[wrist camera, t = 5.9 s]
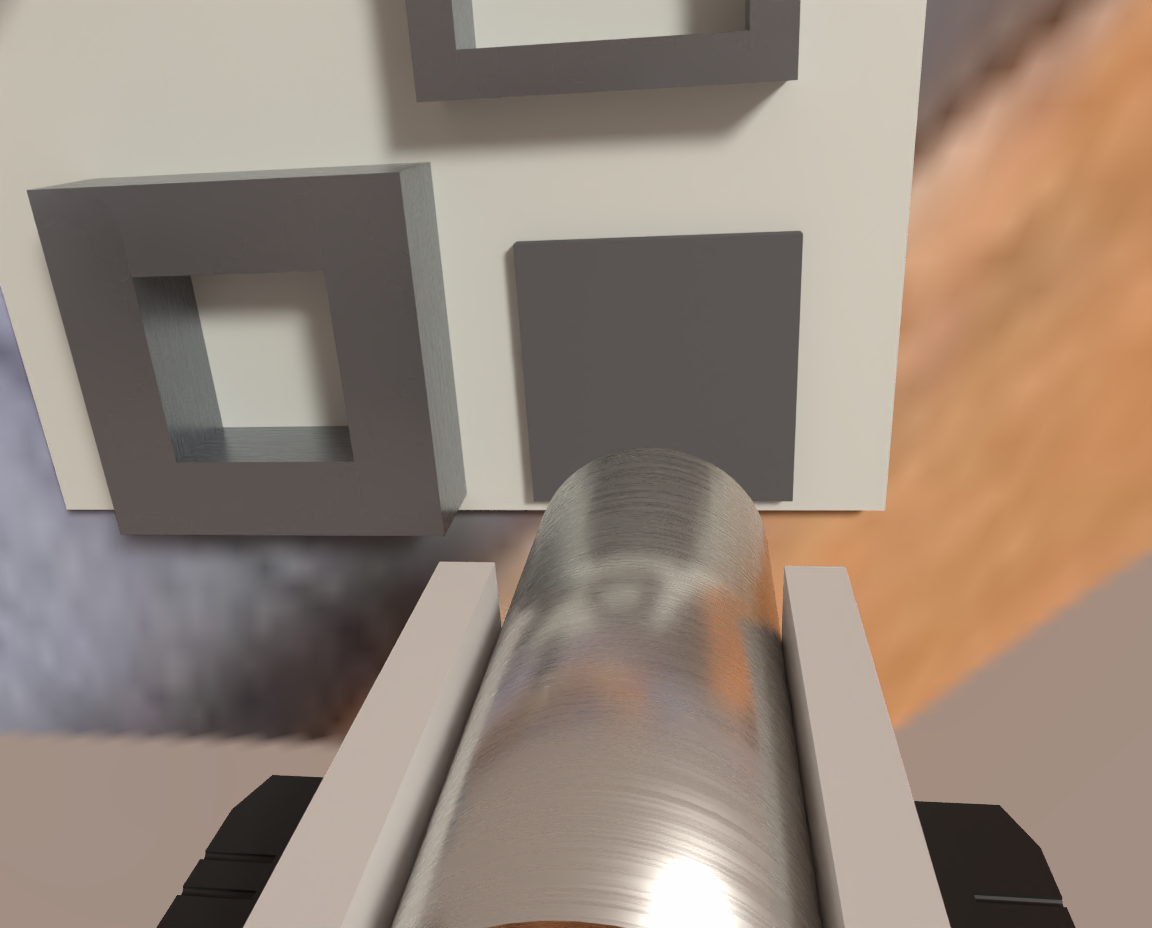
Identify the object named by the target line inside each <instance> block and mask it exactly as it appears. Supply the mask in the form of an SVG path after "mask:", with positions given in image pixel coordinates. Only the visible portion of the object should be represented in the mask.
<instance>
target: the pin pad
mask: <svg viewBox="0 0 1152 928" xmlns="http://www.w3.org/2000/svg"><path fill="white" fill-rule="evenodd" d="M513 251H514V263H515V275H516V288H517V300H518V313H519V325H520V338H521V350H522V363H523V375H524V387H525V400H526V412H527V425H528V437H529V450H530V462H531V475H532V487H533V499H534V502H550V501H551V499H552V498H553V496H554V494H555V493H556V491H557V490H558V489H559V488H560V487H561V485H562V484H563V483H564V482H565V481H566V480H567V479H568V478H569V477H570V476H571V475H573V474H574V473H575V472H576V471H577V470H579V469H580V468H582V467H583V466H585V465H586V464H588V463H590V462H592V461H594V460H596V459H598V458H600V457H602V456H605V455H608V454H611V453H614V452H617V451H622V450H627V449H632V448H646V447H652V448H666V449H671V450H677V451H681V452H685V453H688V454H691V455H694V456H697V457H699V458H701V459H703V460H706V461H708V462H710V463H712V464H713V465H715V466H716V467H718V468H720V469H721V470H723V471H724V472H725V473H727V474H728V475H729V476H730V477H732V478H733V479H734V480H735V481H736V482H737V483H738V484H739V485H740V486H741V487H742V488H743V489H744V490H745V492H746V493H747V494H748V496H749V497H750V499H751V500H752V501H793V481H794V456H795V430H796V404H797V379H798V353H799V327H800V302H801V276H802V251H803V233H802V232H801V231H778V232H752V233H725V234H698V235H672V236H645V237H618V238H591V239H565V240H538V241H516V242H515V243H514V244H513Z"/></svg>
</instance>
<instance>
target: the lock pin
mask: <svg viewBox="0 0 1152 928" xmlns="http://www.w3.org/2000/svg"><path fill="white" fill-rule="evenodd" d="M391 928H822V922H821V915H820V908H819V901H818V894H817V887H816V880H815V873H814V866H813V859H812V852H811V845H810V838H809V831H808V824H807V817H806V810H805V803H804V796H803V789H802V782H801V775H800V768H799V761H798V754H797V747H796V740H795V733H794V726H793V719H792V712H791V705H790V698H789V691H788V684H787V677H786V670H785V663H784V656H783V649H782V640H781V633H780V626H779V619H778V612H777V605H776V598H775V591H774V584H773V577H772V570H771V564H770V557H769V550H768V543H767V537H766V532H765V528H764V525H763V522H762V519H761V517H760V514H759V512H758V510H757V509H756V507H755V505H754V503H753V501H752V500H751V499H750V497H749V496H748V494H747V493H746V492H745V490H744V489H743V488H742V487H741V486H740V485H739V484H738V483H737V482H736V481H735V480H734V479H733V478H732V477H730V476H729V475H728V474H727V473H725V472H724V471H723V470H721V469H720V468H718V467H716V466H715V465H713V464H712V463H710V462H708V461H706V460H703V459H701V458H699V457H697V456H694V455H691V454H688V453H685V452H681V451H677V450H671V449H666V448H652V447H646V448H632V449H627V450H622V451H617V452H614V453H611V454H608V455H605V456H602V457H600V458H598V459H596V460H594V461H592V462H590V463H588V464H586V465H585V466H583V467H582V468H580V469H579V470H577V471H576V472H575V473H574V474H573V475H571V476H570V477H569V478H568V479H567V480H566V481H565V482H564V483H563V484H562V485H561V487H560V488H559V489H558V490H557V491H556V493H555V494H554V496H553V498H552V499H551V501H550V502H549V504H548V507H547V509H546V511H545V513H544V515H543V518H542V521H541V524H540V526H539V529H538V532H537V534H536V537H535V540H534V542H533V545H532V548H531V551H530V553H529V556H528V559H527V561H526V564H525V567H524V569H523V572H522V575H521V578H520V580H519V583H518V586H517V588H516V591H515V594H514V596H513V599H512V602H511V604H510V607H509V610H508V613H507V615H506V618H505V621H504V623H503V626H502V629H501V631H500V634H499V637H498V640H497V642H496V645H495V648H494V650H493V653H492V656H491V658H490V661H489V664H488V666H487V669H486V672H485V675H484V677H483V680H482V683H481V685H480V688H479V691H478V693H477V696H476V699H475V702H474V704H473V707H472V710H471V712H470V715H469V718H468V720H467V723H466V726H465V729H464V731H463V734H462V737H461V739H460V742H459V745H458V747H457V750H456V753H455V755H454V758H453V761H452V764H451V766H450V769H449V772H448V774H447V777H446V780H445V782H444V785H443V788H442V791H441V793H440V796H439V799H438V801H437V804H436V807H435V809H434V812H433V815H432V818H431V820H430V823H429V826H428V828H427V831H426V834H425V836H424V839H423V842H422V844H421V847H420V850H419V853H418V855H417V858H416V861H415V863H414V866H413V869H412V871H411V874H410V877H409V880H408V882H407V885H406V888H405V890H404V893H403V896H402V898H401V901H400V904H399V907H398V909H397V912H396V915H395V917H394V920H393V923H392V925H391Z"/></svg>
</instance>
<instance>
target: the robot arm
mask: <svg viewBox="0 0 1152 928" xmlns="http://www.w3.org/2000/svg"><path fill="white" fill-rule="evenodd" d="M500 631H501V619H500V609H499V599H498V589H497V580H496V570H495V562H439V564H438V566H437V567H436V569H435V571H434V573H433V575H432V577H431V579H430V580H429V582H428V584H427V586H426V588H425V590H424V592H423V594H422V595H421V597H420V599H419V601H418V603H417V605H416V607H415V608H414V610H413V612H412V614H411V616H410V618H409V620H408V621H407V623H406V625H405V627H404V629H403V631H402V633H401V634H400V636H399V638H398V640H397V642H396V644H395V646H394V648H393V649H392V651H391V653H390V655H389V657H388V659H387V661H386V662H385V664H384V666H383V668H382V670H381V672H380V674H379V675H378V677H377V679H376V681H375V683H374V685H373V687H372V688H371V690H370V692H369V694H368V696H367V698H366V700H365V702H364V703H363V705H362V707H361V709H360V711H359V713H358V715H357V716H356V718H355V720H354V722H353V724H352V726H351V728H350V729H349V731H348V733H347V735H346V737H345V739H344V741H343V742H342V744H341V746H340V748H339V750H338V752H337V754H336V756H335V757H334V759H333V761H332V763H331V765H330V767H329V769H328V770H327V772H326V774H325V776H324V778H323V777H322V778H321V777H301V776H279V775H272V776H271V777H270V778H269V779H267V780H266V781H265V782H264V783H263V784H262V785H260V786H259V787H258V788H257V789H256V790H254V791H253V792H252V793H251V794H250V795H249V796H247V797H246V798H245V799H244V800H243V801H241V802H240V803H239V804H238V805H237V806H236V807H234V808H233V809H232V810H231V812H230V813H229V815H228V816H227V818H226V820H225V821H224V823H223V824H222V826H221V827H220V829H219V831H218V832H217V834H216V835H215V837H214V838H213V840H212V842H211V843H210V845H209V846H208V848H207V849H206V854H205V858H204V860H203V859H200V860H199V862H198V864H197V865H196V867H195V868H194V870H193V871H192V873H191V874H190V876H189V878H188V879H187V881H186V882H185V884H184V885H183V892H182V895H177V896H176V898H175V899H174V901H173V903H172V904H171V906H170V908H169V909H168V911H167V912H166V914H165V915H164V917H163V918H162V920H161V921H160V923H159V925H158V926H157V928H391V925H392V923H393V920H394V917H395V915H396V912H397V909H398V907H399V904H400V901H401V898H402V896H403V893H404V890H405V888H406V885H407V882H408V880H409V877H410V874H411V871H412V869H413V866H414V863H415V861H416V858H417V855H418V853H419V850H420V847H421V844H422V842H423V839H424V836H425V834H426V831H427V828H428V826H429V823H430V820H431V818H432V815H433V812H434V809H435V807H436V804H437V801H438V799H439V796H440V793H441V791H442V788H443V785H444V782H445V780H446V777H447V774H448V772H449V769H450V766H451V764H452V761H453V758H454V755H455V753H456V750H457V747H458V745H459V742H460V739H461V737H462V734H463V731H464V729H465V726H466V723H467V720H468V718H469V715H470V712H471V710H472V707H473V704H474V702H475V699H476V696H477V693H478V691H479V688H480V685H481V683H482V680H483V677H484V675H485V672H486V669H487V666H488V664H489V661H490V658H491V656H492V653H493V650H494V648H495V645H496V642H497V640H498V637H499V634H500ZM782 649H783V656H784V663H785V670H786V677H787V684H788V691H789V698H790V705H791V712H792V719H793V726H794V733H795V740H796V747H797V754H798V761H799V768H800V775H801V782H802V789H803V796H804V803H805V810H806V817H807V824H808V831H809V838H810V845H811V852H812V859H813V866H814V873H815V880H816V887H817V894H818V901H819V908H820V915H821V922H822V928H1075V926H1074V923H1073V921H1072V919H1071V916H1070V914H1069V912H1068V910H1067V907H1063V904H1062V896H1061V894H1060V892H1059V889H1058V887H1057V885H1056V882H1055V880H1054V878H1053V875H1052V873H1051V871H1050V869H1049V866H1048V864H1047V862H1046V859H1045V857H1044V855H1043V852H1042V850H1041V848H1040V847H1039V846H1038V845H1037V844H1036V843H1035V842H1034V840H1033V839H1032V838H1031V837H1030V836H1029V835H1028V834H1027V833H1026V832H1025V831H1024V830H1023V829H1022V828H1021V827H1020V826H1019V825H1018V824H1017V823H1016V822H1015V821H1014V820H1013V819H1012V818H1011V817H1010V816H1009V815H1008V813H1006V811H1004V809H1003V808H1002V807H1001V806H1000V805H986V804H963V803H941V802H919V801H914V800H913V797H912V793H911V790H910V786H909V783H908V779H907V776H906V773H905V769H904V766H903V762H902V759H901V755H900V752H899V749H898V745H897V742H896V738H895V735H894V731H893V728H892V725H891V721H890V718H889V714H888V711H887V707H886V704H885V701H884V697H883V694H882V690H881V687H880V683H879V680H878V677H877V673H876V670H875V666H874V663H873V659H872V656H871V653H870V649H869V646H868V642H867V639H866V635H865V632H864V629H863V625H862V622H861V618H860V615H859V611H858V608H857V605H856V601H855V598H854V594H853V591H852V587H851V584H850V581H849V577H848V574H847V570H846V567H839V566H784V587H783V615H782Z"/></svg>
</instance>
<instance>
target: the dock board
mask: <svg viewBox="0 0 1152 928" xmlns="http://www.w3.org/2000/svg"><path fill="white" fill-rule="evenodd" d="M926 2H927V0H801V3H800V32H799V60H798V80H791V81H774V82H756V83H739V84H722V85H705V86H688V87H671V88H653V89H636V90H619V91H602V92H585V93H567V94H550V95H533V96H516V97H499V98H482V99H464V100H447V101H430V102H417V100H416V91H415V83H414V74H413V65H412V56H411V47H410V38H409V30H408V21H407V12H406V3H405V0H0V286H1V289H2V292H3V296H4V299H5V302H6V306H7V309H8V313H9V316H10V319H11V323H12V326H13V329H14V333H15V336H16V340H17V343H18V346H19V350H20V353H21V356H22V360H23V363H24V366H25V370H26V373H27V377H28V380H29V383H30V387H31V390H32V393H33V397H34V400H35V404H36V407H37V410H38V414H39V417H40V420H41V424H42V427H43V431H44V434H45V437H46V441H47V444H48V447H49V451H50V454H51V458H52V461H53V464H54V468H55V471H56V474H57V478H58V481H59V484H60V488H61V491H62V495H63V498H64V501H65V505H66V508H67V510H114V507H113V504H112V500H111V496H110V493H109V489H108V486H107V482H106V478H105V475H104V471H103V467H102V464H101V460H100V456H99V453H98V449H97V446H96V442H95V438H94V435H93V431H92V427H91V424H90V420H89V416H88V413H87V409H86V406H85V402H84V398H83V395H82V391H81V387H80V384H79V380H78V376H77V373H76V369H75V365H74V362H73V358H72V355H71V351H70V347H69V344H68V340H67V336H66V333H65V329H64V325H63V322H62V318H61V315H60V311H59V307H58V304H57V300H56V296H55V293H54V289H53V285H52V282H51V278H50V274H49V271H48V267H47V264H46V260H45V256H44V253H43V249H42V245H41V242H40V238H39V234H38V231H37V227H36V224H35V220H34V216H33V213H32V209H31V205H30V202H29V198H28V194H27V191H26V190H30V189H36V188H42V187H47V186H53V185H59V184H65V183H70V182H76V181H82V180H88V179H95V178H115V177H136V176H156V175H176V174H196V173H216V172H237V171H257V170H277V169H297V168H318V167H338V166H358V165H378V164H398V163H419V162H430V164H431V173H432V182H433V191H434V200H435V209H436V218H437V227H438V236H439V245H440V254H441V263H442V272H443V281H444V290H445V299H446V308H447V317H448V326H449V335H450V344H451V353H452V362H453V372H454V381H455V390H456V399H457V408H458V417H459V426H460V435H461V444H462V453H463V462H464V471H465V480H466V489H467V495H466V497H465V499H464V501H463V502H462V504H461V506H460V508H459V510H546V509H547V507H548V504H549V502H534V499H533V487H532V475H531V462H530V450H529V437H528V425H527V412H526V400H525V387H524V375H523V363H522V350H521V338H520V325H519V313H518V300H517V288H516V275H515V263H514V251H513V244H514V243H515V242H516V241H538V240H565V239H591V238H618V237H645V236H672V235H698V234H725V233H752V232H778V231H801V232H802V233H803V251H802V276H801V302H800V327H799V353H798V379H797V404H796V430H795V456H794V481H793V501H753V503H754V505H755V507H756V509H757V510H885V503H886V491H887V479H888V467H889V454H890V442H891V430H892V418H893V406H894V393H895V381H896V369H897V357H898V344H899V332H900V320H901V308H902V296H903V283H904V271H905V259H906V247H907V234H908V222H909V210H910V198H911V186H912V173H913V161H914V149H915V137H916V124H917V112H918V100H919V88H920V76H921V63H922V51H923V39H924V27H925V15H926ZM472 7H473V19H474V30H475V41H476V48H489V47H504V46H519V45H535V44H550V43H565V42H580V41H596V40H611V39H626V38H641V37H657V36H672V35H687V34H702V33H718V32H733V31H745V0H472ZM190 276H191V280H192V285H193V290H194V294H195V299H196V303H197V308H198V313H199V317H200V322H201V327H202V331H203V336H204V341H205V345H206V350H207V354H208V359H209V364H210V368H211V373H212V378H213V382H214V387H215V391H216V396H217V401H218V405H219V410H220V415H221V419H222V424H223V427H296V426H348V420H347V414H346V407H345V401H344V395H343V389H342V382H341V376H340V370H339V364H338V357H337V351H336V345H335V339H334V332H333V326H332V320H331V314H330V307H329V301H328V295H327V289H326V282H325V276H324V271H302V272H272V273H243V274H214V275H190Z"/></svg>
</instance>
